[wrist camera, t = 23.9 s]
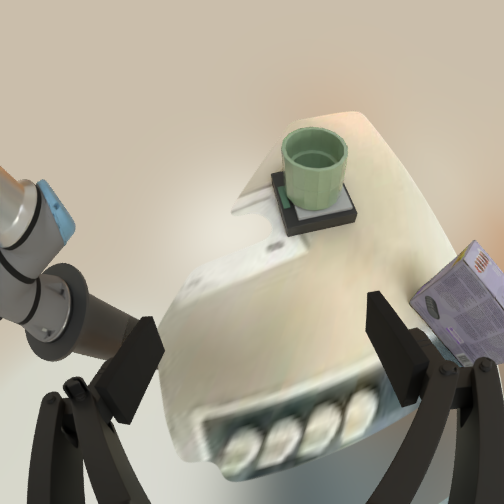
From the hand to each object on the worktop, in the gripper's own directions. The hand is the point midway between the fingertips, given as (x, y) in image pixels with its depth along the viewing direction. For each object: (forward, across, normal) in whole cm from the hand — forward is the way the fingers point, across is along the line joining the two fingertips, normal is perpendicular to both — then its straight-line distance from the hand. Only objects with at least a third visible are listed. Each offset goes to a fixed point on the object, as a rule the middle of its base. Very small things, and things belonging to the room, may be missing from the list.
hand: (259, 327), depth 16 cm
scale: (+40, +9, 0) cm, 41 cm away
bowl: (+37, +9, +3) cm, 38 cm away
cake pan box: (+19, +30, -20) cm, 41 cm away
